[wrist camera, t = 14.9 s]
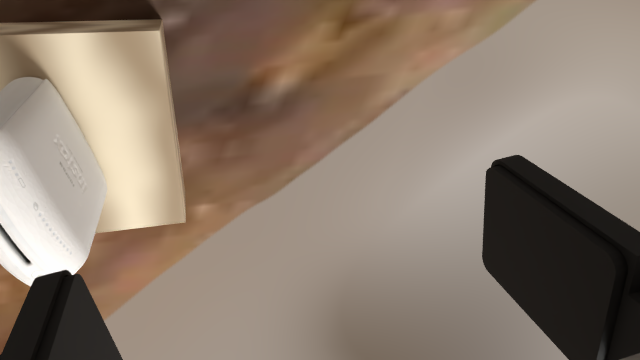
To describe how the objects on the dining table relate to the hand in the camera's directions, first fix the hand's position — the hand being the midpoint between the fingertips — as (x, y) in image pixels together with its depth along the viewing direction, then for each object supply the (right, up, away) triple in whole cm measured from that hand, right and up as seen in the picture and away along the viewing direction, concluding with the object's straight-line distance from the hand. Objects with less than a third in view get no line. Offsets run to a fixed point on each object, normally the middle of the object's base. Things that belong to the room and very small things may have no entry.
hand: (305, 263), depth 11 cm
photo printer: (-19, +5, +24) cm, 31 cm away
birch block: (-20, +7, +30) cm, 37 cm away
